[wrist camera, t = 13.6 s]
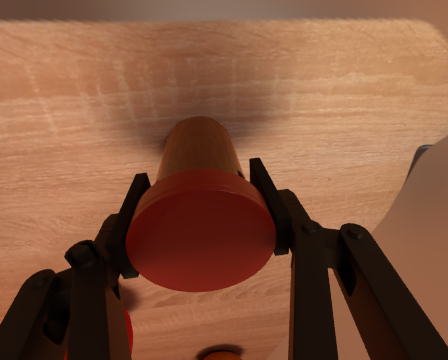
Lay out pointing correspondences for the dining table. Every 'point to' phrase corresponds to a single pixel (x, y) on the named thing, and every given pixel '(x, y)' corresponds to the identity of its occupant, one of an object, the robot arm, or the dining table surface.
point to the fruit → (222, 356)
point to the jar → (199, 148)
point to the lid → (200, 231)
